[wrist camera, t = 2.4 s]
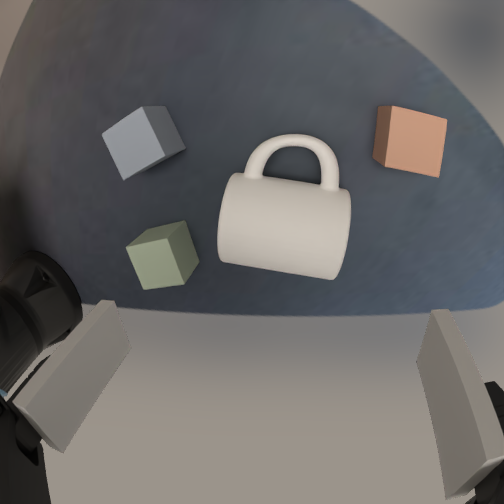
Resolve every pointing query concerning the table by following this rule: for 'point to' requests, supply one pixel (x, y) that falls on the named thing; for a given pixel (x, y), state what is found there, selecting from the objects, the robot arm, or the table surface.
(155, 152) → the slate block
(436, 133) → the terracotta block
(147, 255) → the sage block
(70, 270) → the table surface
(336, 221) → the mug
